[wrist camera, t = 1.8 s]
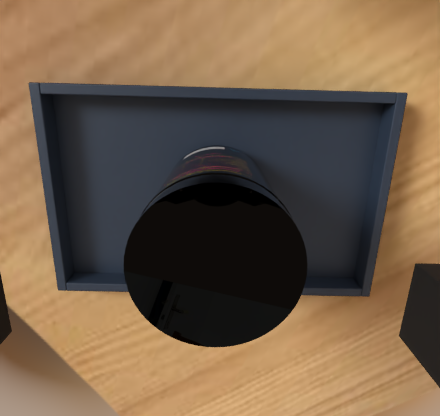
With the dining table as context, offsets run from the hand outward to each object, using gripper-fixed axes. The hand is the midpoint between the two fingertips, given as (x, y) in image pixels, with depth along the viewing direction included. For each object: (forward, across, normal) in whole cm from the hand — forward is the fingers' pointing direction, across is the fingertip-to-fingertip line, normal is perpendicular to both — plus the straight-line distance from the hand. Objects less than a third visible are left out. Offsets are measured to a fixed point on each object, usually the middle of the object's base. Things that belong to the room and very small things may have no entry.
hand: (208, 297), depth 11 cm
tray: (+12, 0, 0) cm, 12 cm away
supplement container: (+12, 0, 0) cm, 12 cm away
